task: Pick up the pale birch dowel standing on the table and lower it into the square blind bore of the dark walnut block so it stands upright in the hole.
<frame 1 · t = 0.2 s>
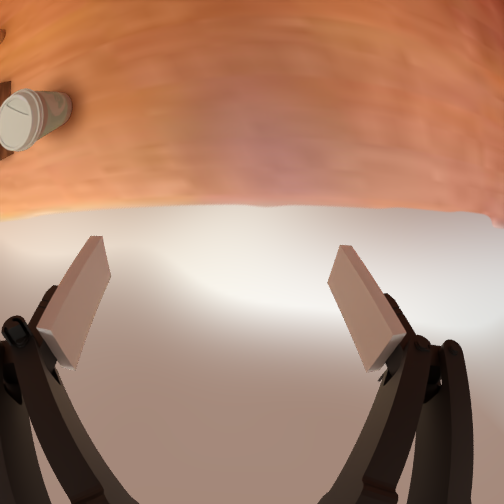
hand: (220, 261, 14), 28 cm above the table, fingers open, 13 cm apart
coffee cup: (58, 109, 29), on the table
dowel: (0, 37, 16), on the table
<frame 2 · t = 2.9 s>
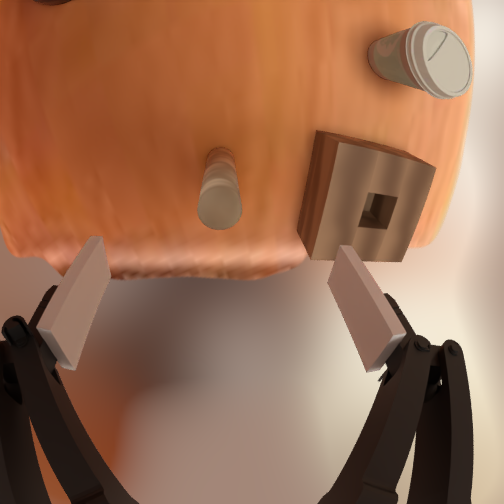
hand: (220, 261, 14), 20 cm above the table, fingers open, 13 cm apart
coffee cup: (385, 59, 24), on the table
dowel: (220, 160, 31), on the table
bore block: (354, 189, 34), on the table
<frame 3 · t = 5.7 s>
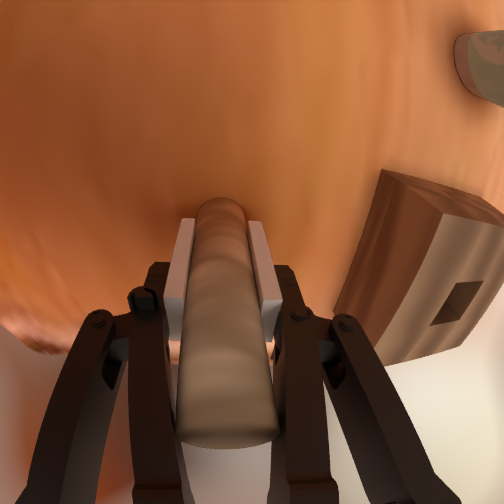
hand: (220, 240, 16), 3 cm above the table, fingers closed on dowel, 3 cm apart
coffee cup: (472, 64, 12), on the table
dowel: (220, 219, 18), on the table, touching gripper
bore block: (416, 253, 22), on the table
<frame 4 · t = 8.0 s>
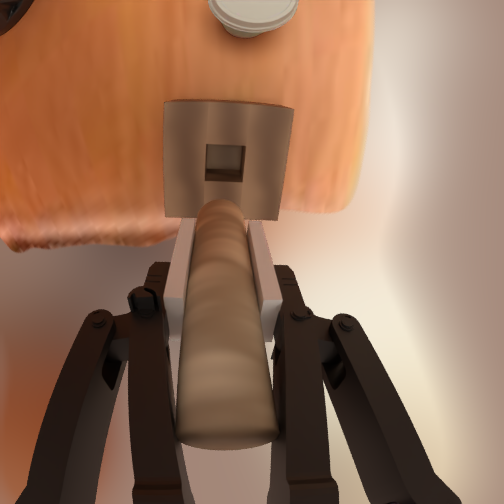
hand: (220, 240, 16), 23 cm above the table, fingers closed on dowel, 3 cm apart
coffee cup: (244, 20, 25), on the table
dowel: (220, 220, 18), point 20 cm above the table, touching gripper
bore block: (224, 150, 35), on the table
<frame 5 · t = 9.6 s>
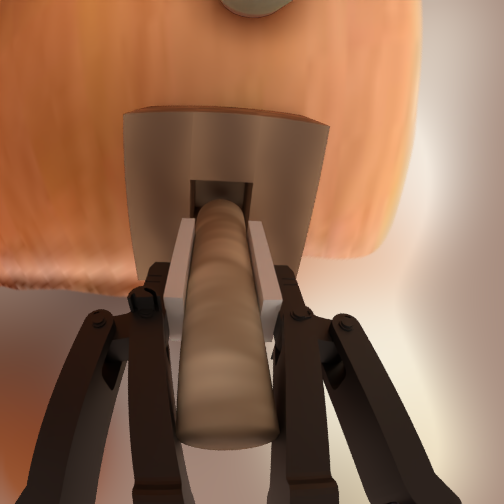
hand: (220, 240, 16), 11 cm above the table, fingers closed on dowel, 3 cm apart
dowel: (220, 221, 18), point 9 cm above the table, touching gripper
bore block: (220, 178, 25), on the table
when the fingers open (8 cm above the table, at t = 10.8 s): dowel drops 2 cm, resting on bore block.
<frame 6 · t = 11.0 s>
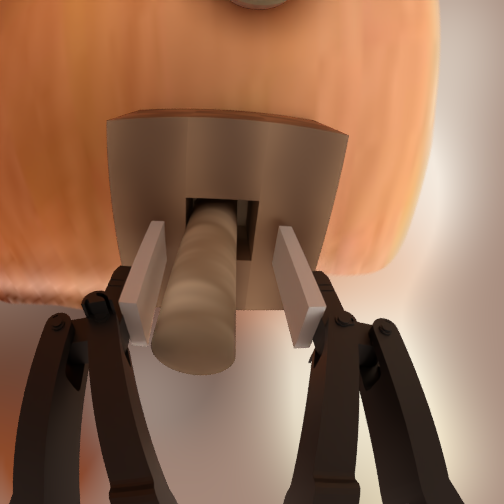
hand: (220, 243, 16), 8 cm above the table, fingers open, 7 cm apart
dowel: (217, 200, 21), point 2 cm above the table, touching bore block
bore block: (220, 191, 23), on the table
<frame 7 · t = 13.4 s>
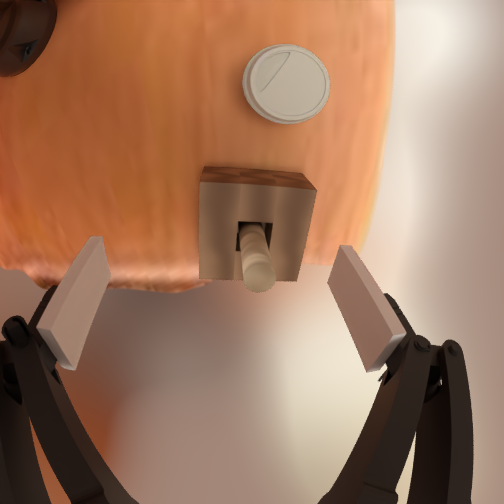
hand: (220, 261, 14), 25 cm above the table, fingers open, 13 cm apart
coffee cup: (271, 86, 31), on the table
dowel: (249, 220, 39), point 2 cm above the table, touching bore block
bore block: (249, 214, 40), on the table
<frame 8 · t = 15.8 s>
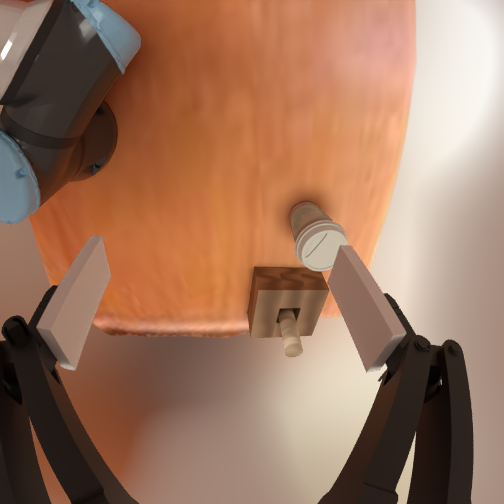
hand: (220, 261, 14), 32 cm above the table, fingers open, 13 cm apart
coffee cup: (304, 215, 50), on the table
dowel: (282, 299, 58), point 2 cm above the table, touching bore block
bore block: (282, 292, 60), on the table
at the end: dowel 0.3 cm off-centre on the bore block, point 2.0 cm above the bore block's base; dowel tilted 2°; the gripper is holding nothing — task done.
